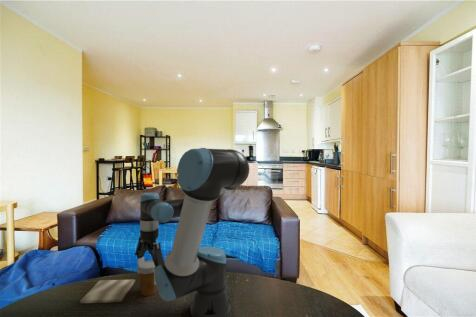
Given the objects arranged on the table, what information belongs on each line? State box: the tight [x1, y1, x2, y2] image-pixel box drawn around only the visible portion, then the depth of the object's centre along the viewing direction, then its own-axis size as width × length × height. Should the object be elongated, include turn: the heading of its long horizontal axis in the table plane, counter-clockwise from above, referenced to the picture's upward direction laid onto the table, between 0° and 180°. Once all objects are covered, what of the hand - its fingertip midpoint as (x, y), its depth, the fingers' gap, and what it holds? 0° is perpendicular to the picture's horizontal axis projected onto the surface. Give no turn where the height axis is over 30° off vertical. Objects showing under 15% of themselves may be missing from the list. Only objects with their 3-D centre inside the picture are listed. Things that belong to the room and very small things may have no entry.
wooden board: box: [79, 278, 136, 304], centre depth 105 cm, size 16×16×1 cm
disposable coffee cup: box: [137, 259, 158, 297], centre depth 105 cm, size 10×10×12 cm
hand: (148, 277), depth 105 cm, fingers open, 13 cm apart
